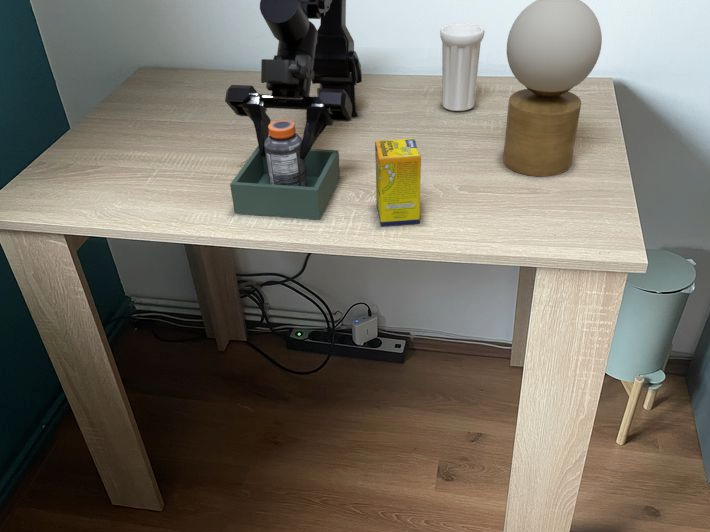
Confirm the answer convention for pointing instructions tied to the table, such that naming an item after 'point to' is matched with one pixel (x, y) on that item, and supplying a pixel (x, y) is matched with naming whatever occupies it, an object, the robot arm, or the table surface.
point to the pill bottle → (284, 155)
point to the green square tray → (286, 187)
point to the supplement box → (398, 181)
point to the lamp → (548, 83)
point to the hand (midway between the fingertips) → (282, 157)
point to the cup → (460, 64)
